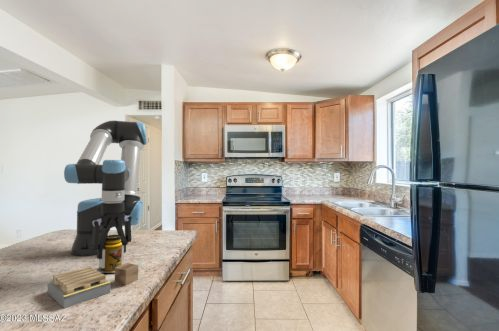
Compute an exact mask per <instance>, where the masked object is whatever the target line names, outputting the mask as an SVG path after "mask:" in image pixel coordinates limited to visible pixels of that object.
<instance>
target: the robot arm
mask: <svg viewBox="0 0 499 331" xmlns="http://www.w3.org/2000/svg"><path fill="white" fill-rule="evenodd" d="M89 135H90V136H89V141H88V143H87V145H86V146H85V148H84V150H83V151H82V153H81V155H80V157H79V159H78V160H77V162H76V163H68V164H66V165H65V167H64V170H63V177H64V181H65V182H66V183H68V184H76V185H77V184H78V185H79V184H80V185H81V184H82V185H83V184H101V197H97V198H90V199H86V200H85V199H84V200H82V201H80V202H78V204H77V209H76V210H77V211H76V235H75V238H74V240H73V243H72V246H71V251H70V252H71V254H72V255H74V256H84V257H85V256H94V255H96V258H97V259H98V260H99V264H98V268H99V267H101V268H105V249H104V244H105V241H106V238H107V236H109V235H108V234H109V232H110V231H111V229H112V228H115V229H116V234H117V235H120V236H121V243H122V264H125V263H124V261H125V260H124V258H125V256H124V254H125V253H126V252H127V246H128V244H129V243H131V242H132V227H133V226H137V225H138V224H140V221H141V218H142V214H143V209H144V201H143V200H142V199H141V196H140V195H139V194H138V190H139V188H138V187H139V185H138V184H139V176H140V174H139V173H140V172H139V171H140V157H141V151H142V150H143V149H144V147H145V145H147V144H148V140H147V130H146V124H145V123H143V122H140V121H124V120H108V121H105V122H102V123H100V124H99V125H97V126H96V127H95V128H93V129H92V131H91V132H90V134H89ZM112 144H118V146H119V147H120V148H121V154H120V156H121V157H120V159H104V160H103V157H104V154H105V152H106V150H107V148H108V146H110V145H112ZM102 160H103V162H102V164H100V163H101V161H102ZM123 227H124V229H123Z"/></svg>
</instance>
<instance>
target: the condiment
mask: <svg viewBox="0 0 499 331" xmlns="http://www.w3.org/2000/svg"><path fill="white" fill-rule="evenodd" d="M104 249H105V268H101V267H99V266H98V268H97V269H96V270H97V271H98V272H100V273H102V274H104V273H106V274H107V273H115V268H116V267H118V266H121V265H123V264H124V263H122V243H121V236H120V235H118V234H110V235H108V236H107V238H106V241H105V244H104Z"/></svg>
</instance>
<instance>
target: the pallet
mask: <svg viewBox="0 0 499 331" xmlns="http://www.w3.org/2000/svg"><path fill="white" fill-rule="evenodd" d="M52 277H53V278H52V281H53V283H54V284H55V285H57V286H58V287H59V288H60V289H61V290H63V291H64V292H65V293H66V294H71V293H74V288H77V287H82V288H84V289H87V288H90V287H91V283H94V282H97V283H99V284H103V283H106V280H107V278H106V275H105V274H104V273H100V272H98V271H97V269H95V268H93V267H91V266H85V267H82V268H78V269H74V270H71V271H66V272H63V273H59V274H54V275H53V276H52Z"/></svg>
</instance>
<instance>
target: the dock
mask: <svg viewBox="0 0 499 331" xmlns="http://www.w3.org/2000/svg"><path fill="white" fill-rule="evenodd" d="M111 285H112V284H111V281H110V280H108V279H106V283H103V284H99V283H97V282H94V283H91V287H90V288H87V289H84V288H82V287H77V288H74V293H71V294H66V293H65V292H64V291H63V290H61V289H60V288H59V287H58V286H57V285H55V284H54V283H53V280H51V281H47V290H46V293H47V294H48V295H49V296H50V297H52V299H53V300H55V301H56V302H57V303H58V305H59V306H61V307H62V309H66V308H70V307H72V306H75V305H78V304H81V303H84V302H87V301H88V300H92V299H94V298H98V297H101V296H104V295H107V294H109V293H111Z"/></svg>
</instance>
